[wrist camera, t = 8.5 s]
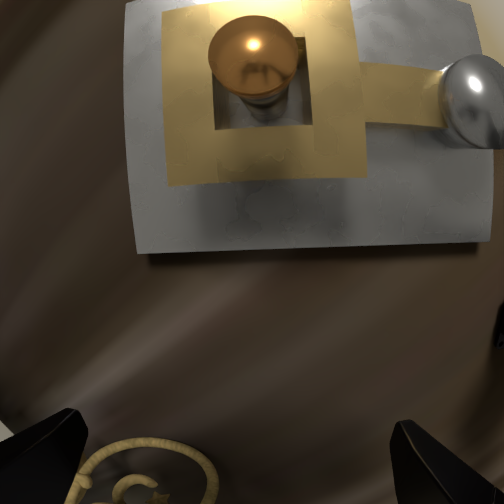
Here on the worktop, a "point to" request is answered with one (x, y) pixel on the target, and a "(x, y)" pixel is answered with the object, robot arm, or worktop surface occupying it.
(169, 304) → the worktop surface
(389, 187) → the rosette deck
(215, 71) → the lever with copper knob
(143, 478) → the wall sconce
